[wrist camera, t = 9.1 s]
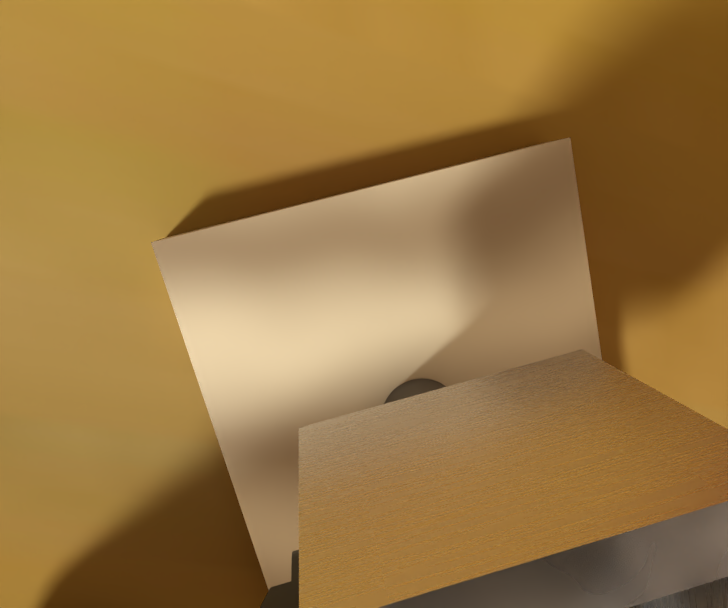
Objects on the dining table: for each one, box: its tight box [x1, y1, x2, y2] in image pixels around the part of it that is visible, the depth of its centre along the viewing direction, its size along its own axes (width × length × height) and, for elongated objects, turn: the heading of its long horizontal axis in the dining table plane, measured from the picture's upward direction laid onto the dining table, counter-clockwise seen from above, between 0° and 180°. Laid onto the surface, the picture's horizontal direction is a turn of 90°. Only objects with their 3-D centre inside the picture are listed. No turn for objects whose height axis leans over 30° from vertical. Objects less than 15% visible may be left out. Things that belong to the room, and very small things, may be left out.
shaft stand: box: [151, 138, 602, 590], centre depth 13 cm, size 14×12×9 cm
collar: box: [299, 349, 728, 608], centre depth 9 cm, size 6×6×5 cm
